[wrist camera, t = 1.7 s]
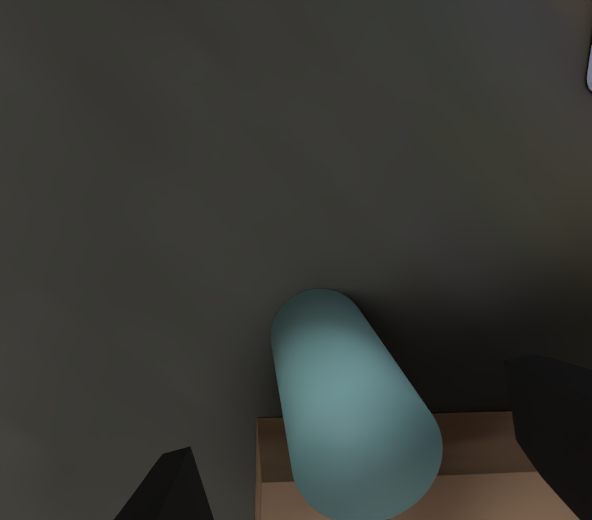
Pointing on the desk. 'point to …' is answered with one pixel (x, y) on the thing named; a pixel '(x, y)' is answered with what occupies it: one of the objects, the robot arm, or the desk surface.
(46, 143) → the desk surface
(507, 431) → the socket block
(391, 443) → the peg
